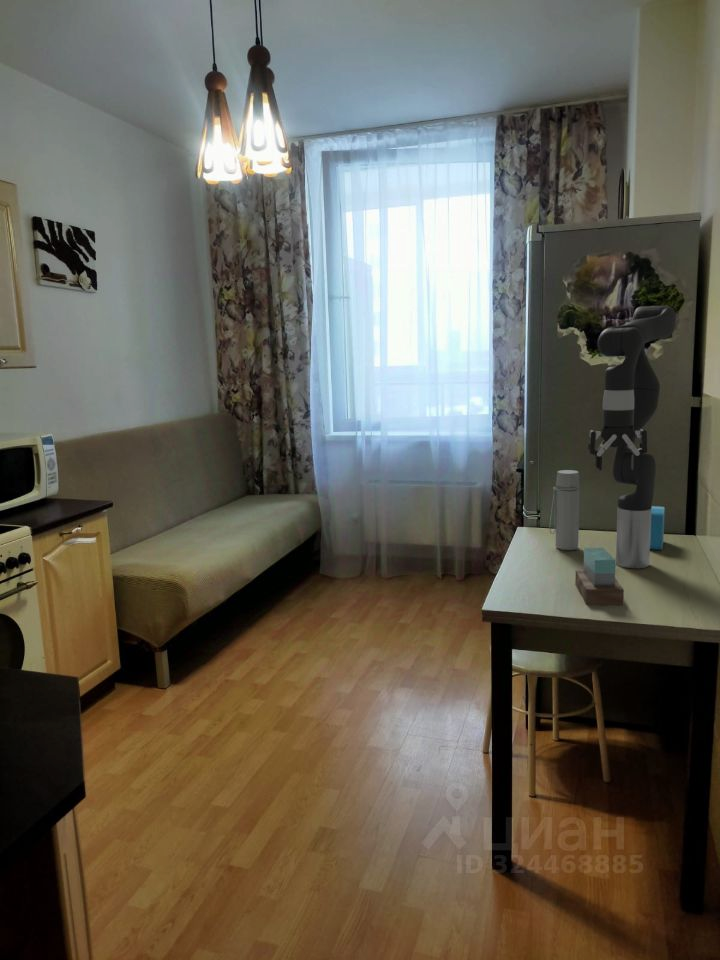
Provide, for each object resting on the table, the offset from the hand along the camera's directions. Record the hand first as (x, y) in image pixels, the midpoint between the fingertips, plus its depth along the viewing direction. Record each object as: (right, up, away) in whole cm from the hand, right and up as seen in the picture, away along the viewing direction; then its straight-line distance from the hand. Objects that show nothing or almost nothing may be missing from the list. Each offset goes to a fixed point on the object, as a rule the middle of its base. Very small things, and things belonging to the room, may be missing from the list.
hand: (616, 469), depth 177 cm
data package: (+28, -24, +42) cm, 56 cm away
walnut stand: (-5, -33, +1) cm, 33 cm away
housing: (-5, -29, 0) cm, 29 cm away
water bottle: (-1, -25, +43) cm, 50 cm away
